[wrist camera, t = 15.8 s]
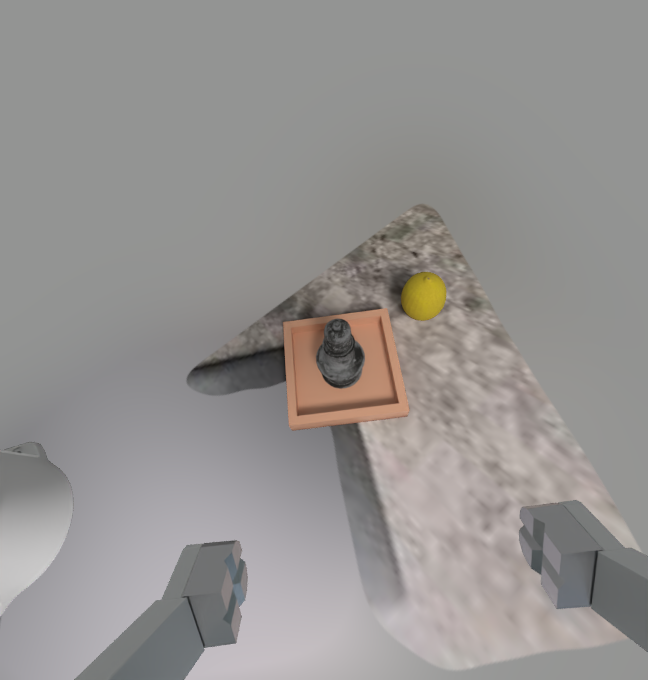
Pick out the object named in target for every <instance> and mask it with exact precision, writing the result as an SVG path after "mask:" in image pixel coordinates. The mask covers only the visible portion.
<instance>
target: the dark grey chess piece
mask: <svg viewBox="0 0 648 680" xmlns="http://www.w3.org/2000/svg"><path fill="white" fill-rule="evenodd" d="M364 362H365V353H364V351H363V348H362V347H361V345H360V344H359V343H358V342H357V341H355V339H354V337H353V335H352V334H351V327H350V325H349V324H348V322H347V321H345V320H343V319H339V318H338V319H333V320H331V321H329V322H328V323H327V324H326V326H325V328H324V339H323V344H322V345H321V346H320V347H319V349H318V351H317V354H316V363H317V366H318V369H319V370H320V372H321V373H322V376H323V379H324V380H325V382H326V383H328V384H329V385H330V386H332V387H334V388H339V389H342V388H348V387H351V386H353V385H354V384H356V382H357V381H358V380H359V379H360V377H361V374H362V368H363V366H364Z"/></svg>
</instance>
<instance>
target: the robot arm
mask: <svg viewBox="0 0 648 680" xmlns="http://www.w3.org/2000/svg"><path fill="white" fill-rule="evenodd" d="M72 514H73V493H72V489H71V485H70V483H69V481H68V479H67V477H66V475H65V474H64V473H63V472H62V471H61V470H60V469H59V468H58V467H56V466H55V465H53V464H52V463H51V462H50V461H49V460H48V459H47V456H46V454H45V451H44V449H43V447H42V446H41V444H39V443H34V442H28V443H25V444H21V445H18V446H15V447H12V448H8V449H5V450H0V617H1V615H2V614H3V613H4V611H5V610H6V609H7V607H8V606H9V604H10V603H11V601H12V600H13V599H14V598H15V597H16V596H17V595H18V594H19V593H21V592H22V591H23V590H25V589H26V588H27V587H28V586H30V585H31V584H32V583H33V582H34V581H36V580H37V579H38V578H39V577H40V576H41V575H42V574H43V573H44V571H45V570H46V569H47V568H48V567H49V566H50V564H51V563H52V562H53V560H54V559H55V557H56V556H57V554H58V552H59V550H60V549H61V547H62V545H63V543H64V541H65V539H66V536H67V534H68V531H69V528H70V524H71V520H72ZM520 519H521V521H522V522H523V524H524V526H523V527H522V528H521V529H520V530H519V541H520V545H521V549H522V552H523V554H524V556H525V559H526V561H527V562H528V564H529V566H530V567H531V569H533V570H534V571H536V572H537V573H539V574H540V575H541V585H542V587H543V588H544V590H545V591H546V593H547V594H548V596H549V598H550V599H551V601H552V602H553V604H554V606H555V607H556V609H563V608H577V607H590V606H591V609H593V610H594V611H595V612H597V613H598V614H599V615H600V616H602V617H603V618H604V619H606V620H607V621H608V622H609V623H611V624H612V625H613V626H615V627H616V628H617V629H618V630H620V631H621V632H622V633H624V634H625V635H626V636H627V637H629V638H630V639H631V640H633V641H634V642H635V643H636V644H638V645H639V646H640V647H642V648H643V649H644V650H645V651H647V652H648V556H647V555H645V554H643V553H641V552H639V551H637V550H635V549H633V548H625V547H624V546H623V545H622V544H621V543H620V542H619V541H618V540H617V539H616V538H615V537H614V536H613V535H612V534H611V533H610V532H609V531H608V530H607V529H606V528H605V527H604V526H603V525H602V524H601V522H600V521H599V520H598V519H597V518H596V517H595V516H594V515H593V514H592V513H591V512H590V511H589V510H588V509H587V508H586V507H585V506H584V505H583V504H582V503H581V502H579V501H577V500H573V501H565V502H558V503H550V504H542V505H534V506H526V507H522V508H521V510H520ZM241 552H242V549H241V545H240V542H239V541H237V540H236V541H224V542H212V543H204V544H194V545H187V546H186V547H185V548H184V549H183V551H182V553H181V555H180V558H179V560H178V562H177V565H176V567H175V569H174V572H173V574H172V576H171V579H170V581H169V584H168V586H167V588H166V590H165V592H164V595H163V597H162V600H157V601H155V602H154V603H153V604H152V605H151V606H150V607H149V608H148V609H147V610H146V611H145V612H144V613H143V614H142V615H141V616H140V617H139V618H138V619H137V620H136V621H134V622H133V623H132V624H131V625H130V626H129V627H128V628H127V629H126V630H125V631H124V632H123V633H122V634H121V635H120V636H119V637H118V638H117V639H116V640H115V641H114V642H113V643H112V644H111V645H110V646H109V647H108V648H107V649H106V650H105V651H103V652H102V653H101V654H100V655H99V656H98V657H97V658H96V659H95V660H94V661H93V662H92V663H91V664H90V665H89V666H88V667H87V668H86V669H85V670H84V671H83V672H82V673H81V674H80V675H79V676H78V677H77V678H76V679H74V680H184V679H185V678H186V676H187V675H188V673H189V672H190V670H191V669H192V667H193V666H194V665H195V663H196V662H197V660H198V659H199V657H200V656H201V654H202V653H203V652H204V648H206V647H214V646H220V645H227V644H234V643H236V642H237V636H238V632H239V627H240V622H241V618H242V616H241V612H240V609H239V607H240V605H241V604H242V603H243V602H244V601H245V597H246V591H247V579H248V576H247V568H246V564H245V562H244V561H243V560H242V559H241V558H240V556H241Z"/></svg>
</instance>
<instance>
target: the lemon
mask: <svg viewBox="0 0 648 680" xmlns="http://www.w3.org/2000/svg"><path fill="white" fill-rule="evenodd" d="M445 301H446V287H445V284H444V282H443V280H442V279H441V278H440V277H439V276H437V275H436V274H434V273H431V272H421V273H417V274H415V275H413V276H412V277H411V278H410V279H409V280H408V281H407V283H406V284H405V286H404V288H403V291H402V295H401V303H402V307H403V309H404V311H405V312H406V314H407V315H408V316H410V317H411V318H413V319H415V320H421V321H424V320H429V319H431V318H433V317H435V316H436V315H437V314H438V313H439V312H440V311H441V310H442V308H443V306H444V304H445Z"/></svg>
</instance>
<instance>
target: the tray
mask: <svg viewBox="0 0 648 680" xmlns="http://www.w3.org/2000/svg"><path fill="white" fill-rule="evenodd" d="M338 318H339V319H343V320H345V321H347V322H348V324H349V325H350V327H351V334H352V335H353V337H354V339H355V341H357V342H358V343H359V344H360V345H361V347H362V348H363V351H364V353H365V362H364V366H363V368H362V374H361V377H360V379H359V380H358V381H357V382H356V384H354V385H353V386H351V387H348V388H342V389H339V388H334V387H332V386H330V385H329V384H328V383H326V382H325V380H324V379H323V376H322V373H321V372H320V370H319V369H318V366H317V363H316V354H317V351H318V349H319V347H320V346H321V345H322V344H323V339H324V328H325V326H326V324H327V323H328V322H329V321H331V320H333V319H338ZM283 330H284V348H285V365H286V383H287V399H288V417H289V426H290V428H291V429H292V430H293V431H294V430H301V429H310V428H317V427H326V426H334V425H342V424H350V423H358V422H366V421H374V420H382V419H390V418H398V417H407V415H408V413H409V411H410V410H409V406H408V401H407V397H406V392H405V387H404V383H403V378H402V374H401V369H400V365H399V360H398V356H397V351H396V346H395V342H394V337H393V333H392V328H391V324H390V319H389V315H388V310H387V308H385V309H378V310H370V311H363V312H355V313H348V314H340V315H333V316H325V317H318V318H310V319H303V320H295V321H288V322H283Z"/></svg>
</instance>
